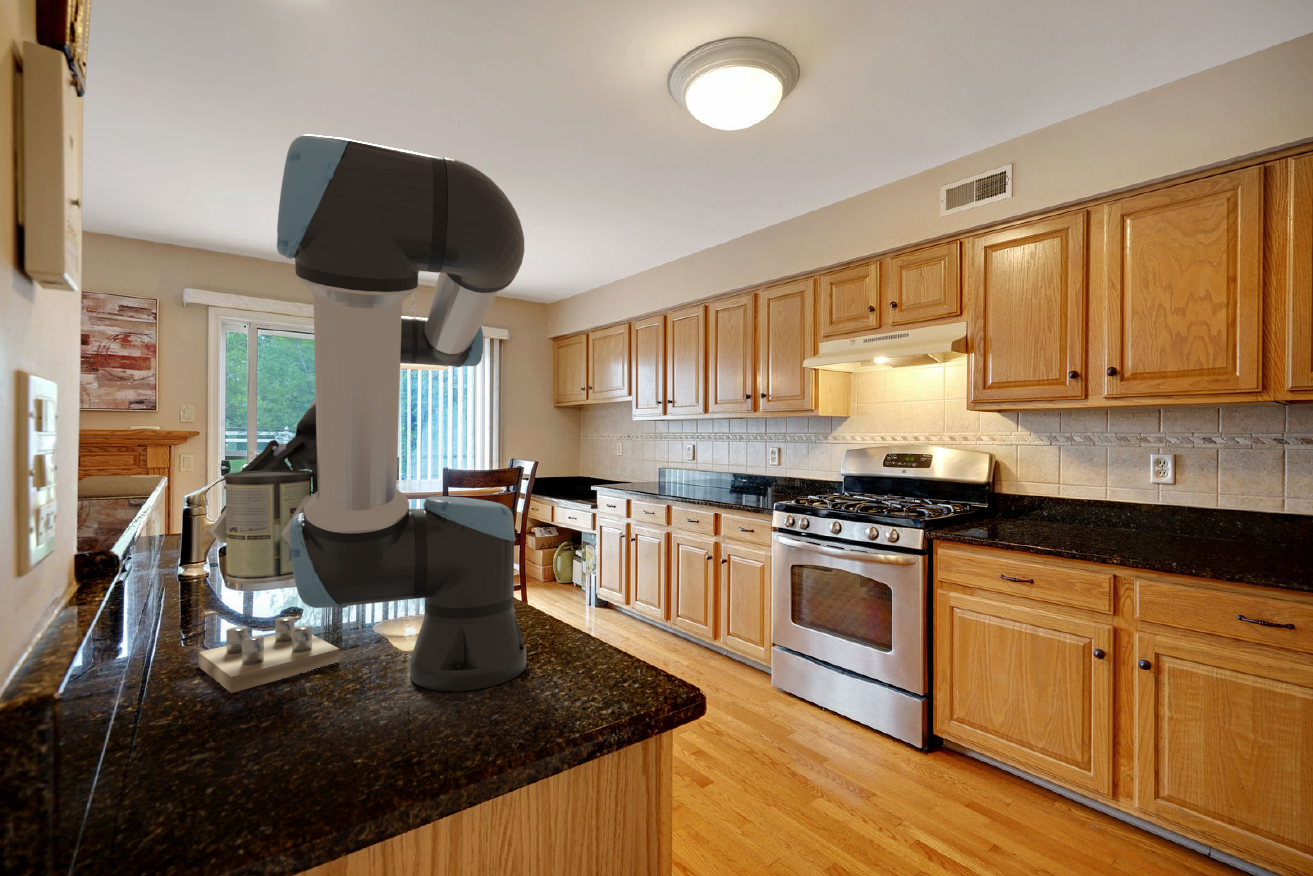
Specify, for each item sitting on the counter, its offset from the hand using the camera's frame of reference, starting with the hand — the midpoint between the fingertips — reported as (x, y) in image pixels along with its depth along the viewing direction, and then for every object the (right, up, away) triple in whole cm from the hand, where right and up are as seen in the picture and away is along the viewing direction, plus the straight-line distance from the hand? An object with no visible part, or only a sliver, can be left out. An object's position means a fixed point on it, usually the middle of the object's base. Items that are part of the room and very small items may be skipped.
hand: (252, 539), depth 83 cm
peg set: (0, -16, +3) cm, 16 cm away
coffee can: (0, -6, +3) cm, 6 cm away
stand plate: (0, -18, +3) cm, 18 cm away
